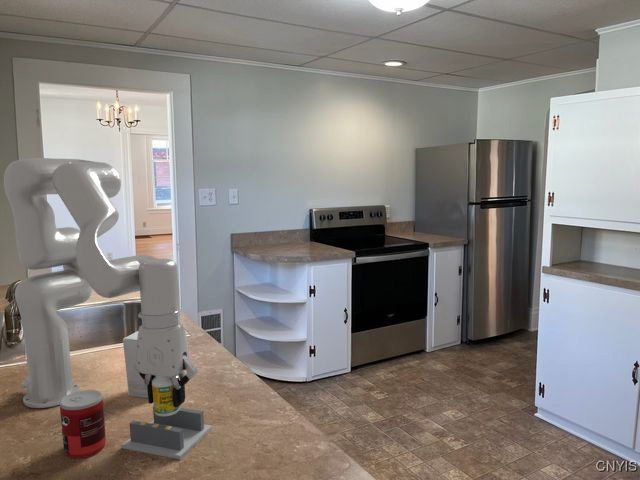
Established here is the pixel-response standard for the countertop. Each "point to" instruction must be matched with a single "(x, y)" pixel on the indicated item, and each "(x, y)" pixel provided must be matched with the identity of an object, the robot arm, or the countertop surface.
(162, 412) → the supplement bottle
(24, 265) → the robot arm
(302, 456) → the countertop surface
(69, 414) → the canned food
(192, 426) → the socket block
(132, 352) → the skincare box
